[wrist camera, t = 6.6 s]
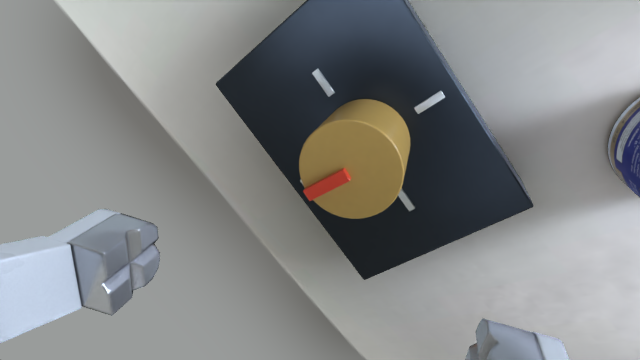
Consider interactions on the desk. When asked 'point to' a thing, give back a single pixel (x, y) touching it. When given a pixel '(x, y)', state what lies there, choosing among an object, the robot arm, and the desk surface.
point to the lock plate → (397, 92)
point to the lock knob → (356, 159)
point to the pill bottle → (627, 147)
